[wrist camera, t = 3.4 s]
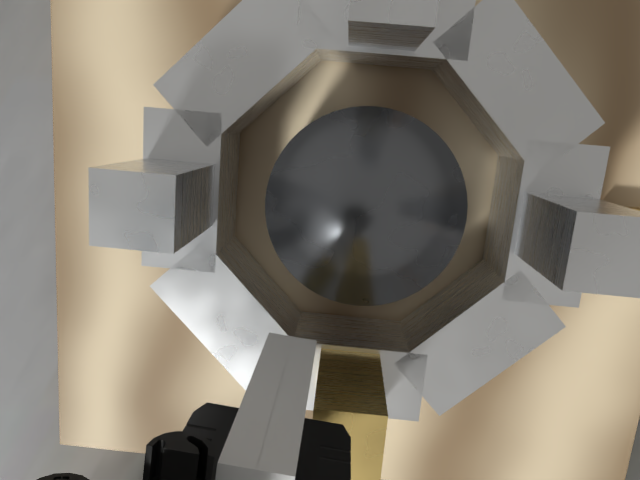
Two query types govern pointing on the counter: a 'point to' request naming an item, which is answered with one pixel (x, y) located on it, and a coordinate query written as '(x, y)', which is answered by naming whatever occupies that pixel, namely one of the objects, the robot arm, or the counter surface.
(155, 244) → the ring nut
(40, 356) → the counter surface
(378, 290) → the dark grey dome
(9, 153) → the counter surface
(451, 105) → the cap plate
